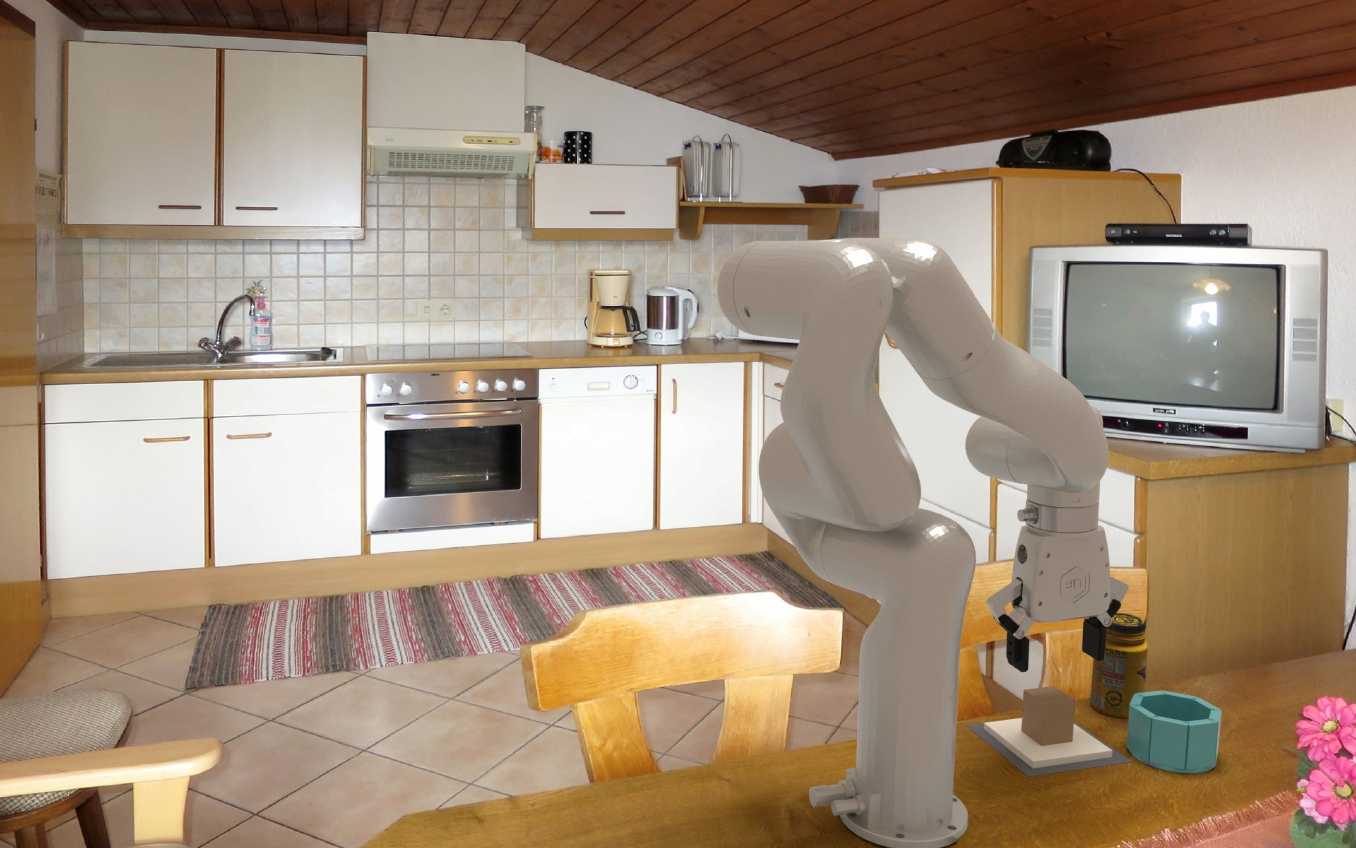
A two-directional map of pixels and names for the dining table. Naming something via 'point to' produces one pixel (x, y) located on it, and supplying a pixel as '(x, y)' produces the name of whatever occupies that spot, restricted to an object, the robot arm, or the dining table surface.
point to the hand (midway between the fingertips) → (1055, 662)
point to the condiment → (1120, 666)
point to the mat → (1029, 771)
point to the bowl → (1173, 731)
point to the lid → (1047, 731)
